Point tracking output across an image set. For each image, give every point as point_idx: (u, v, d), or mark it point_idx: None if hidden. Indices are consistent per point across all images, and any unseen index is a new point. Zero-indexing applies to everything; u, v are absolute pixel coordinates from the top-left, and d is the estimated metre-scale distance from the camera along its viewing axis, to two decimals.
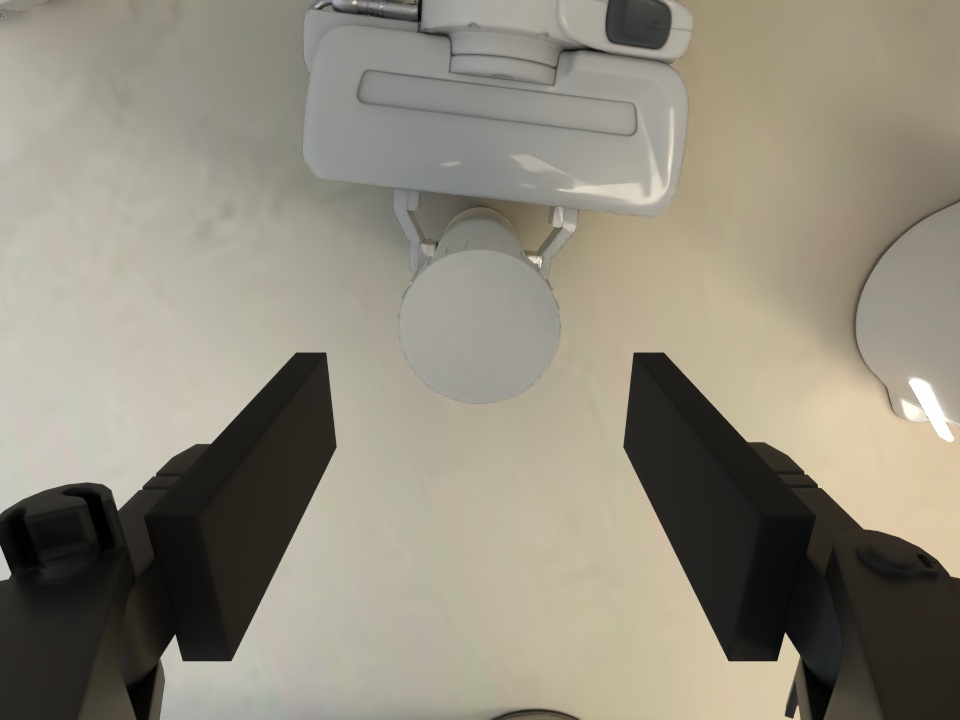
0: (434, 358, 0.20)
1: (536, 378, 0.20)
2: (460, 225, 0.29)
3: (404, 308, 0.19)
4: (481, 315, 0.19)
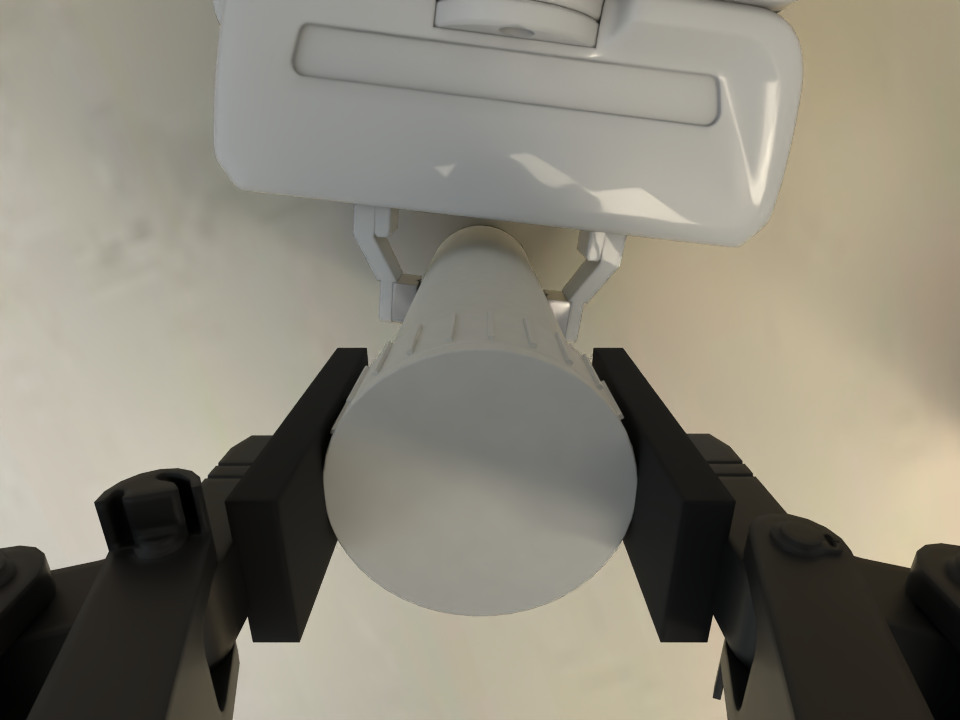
0: (394, 543, 0.10)
1: (587, 576, 0.11)
2: (451, 260, 0.19)
3: (332, 458, 0.10)
4: (484, 470, 0.10)
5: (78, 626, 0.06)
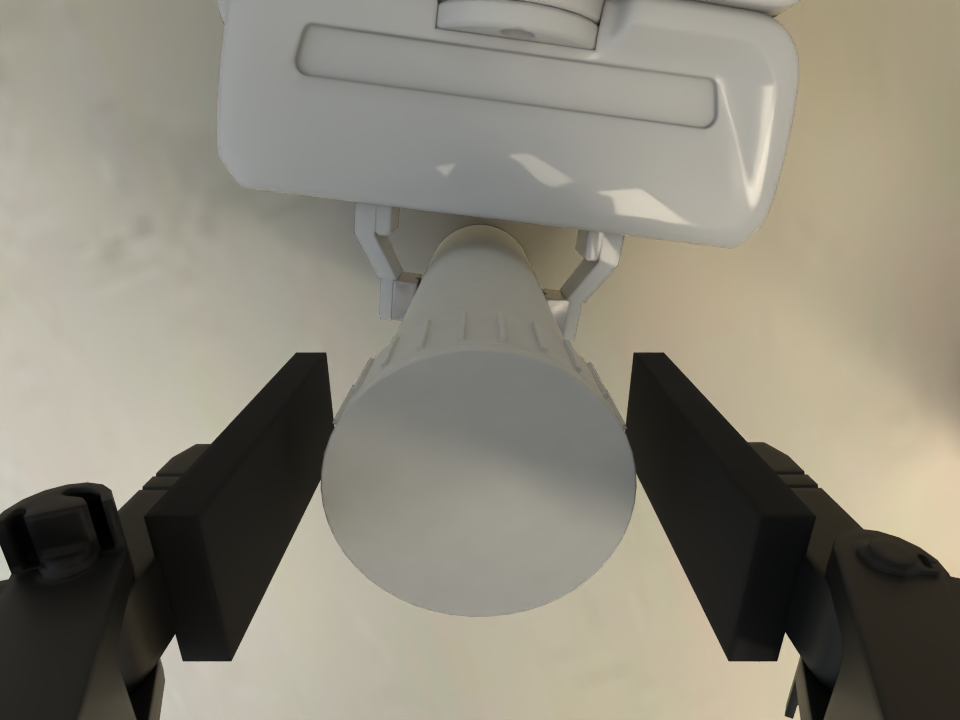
0: (519, 573, 0.11)
1: (602, 407, 0.09)
2: (451, 258, 0.20)
3: (418, 602, 0.11)
4: (447, 490, 0.10)
5: None
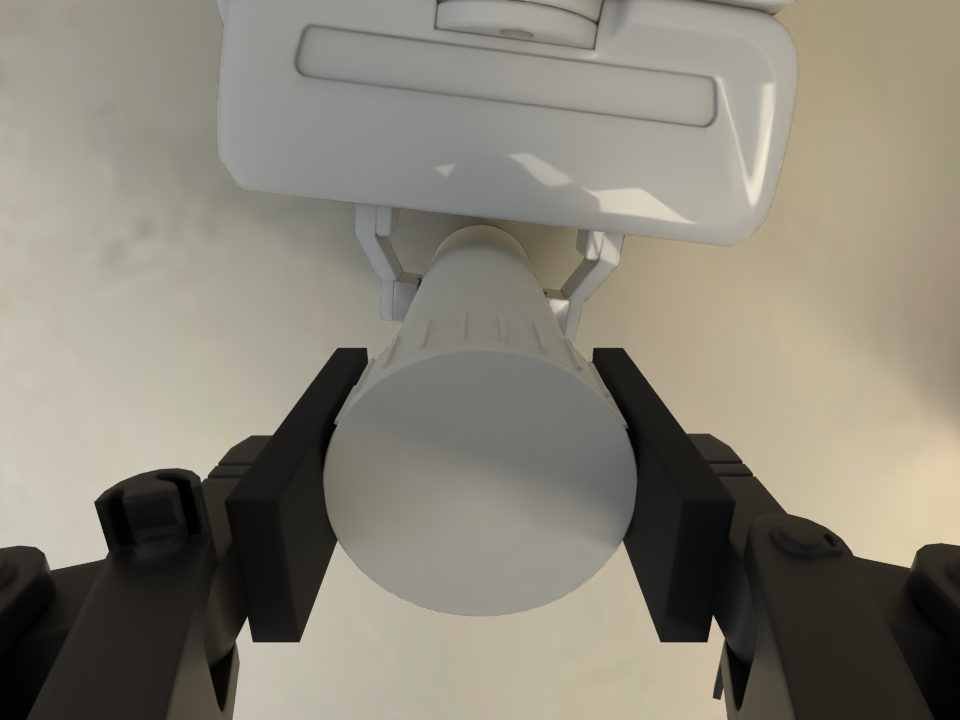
0: (521, 573, 0.11)
1: (603, 406, 0.09)
2: (452, 258, 0.20)
3: (420, 602, 0.11)
4: (449, 490, 0.10)
5: (78, 626, 0.06)
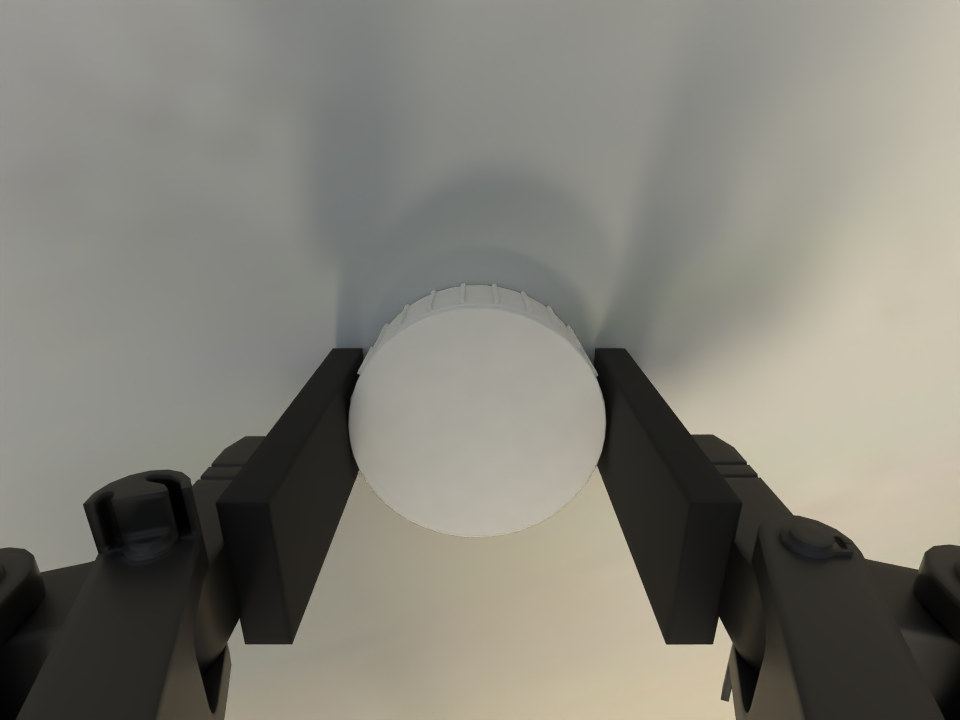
0: (512, 498, 0.13)
1: (577, 355, 0.12)
2: None
3: (428, 525, 0.13)
4: (452, 427, 0.12)
5: (66, 629, 0.06)
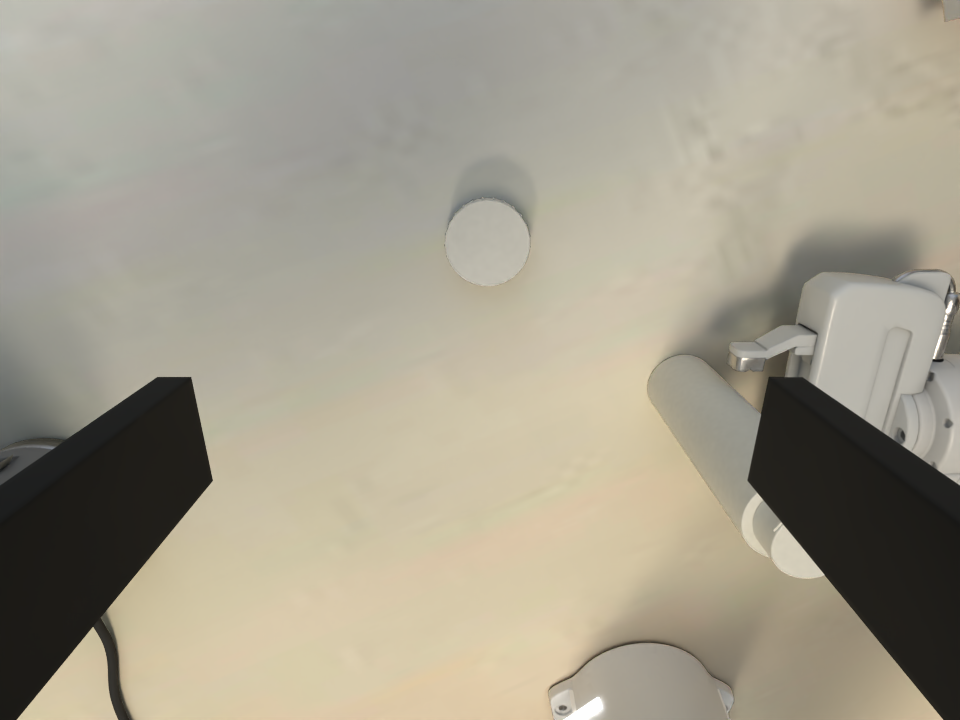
0: (499, 270, 0.38)
1: (519, 216, 0.36)
2: None
3: (470, 280, 0.38)
4: (479, 242, 0.37)
5: None
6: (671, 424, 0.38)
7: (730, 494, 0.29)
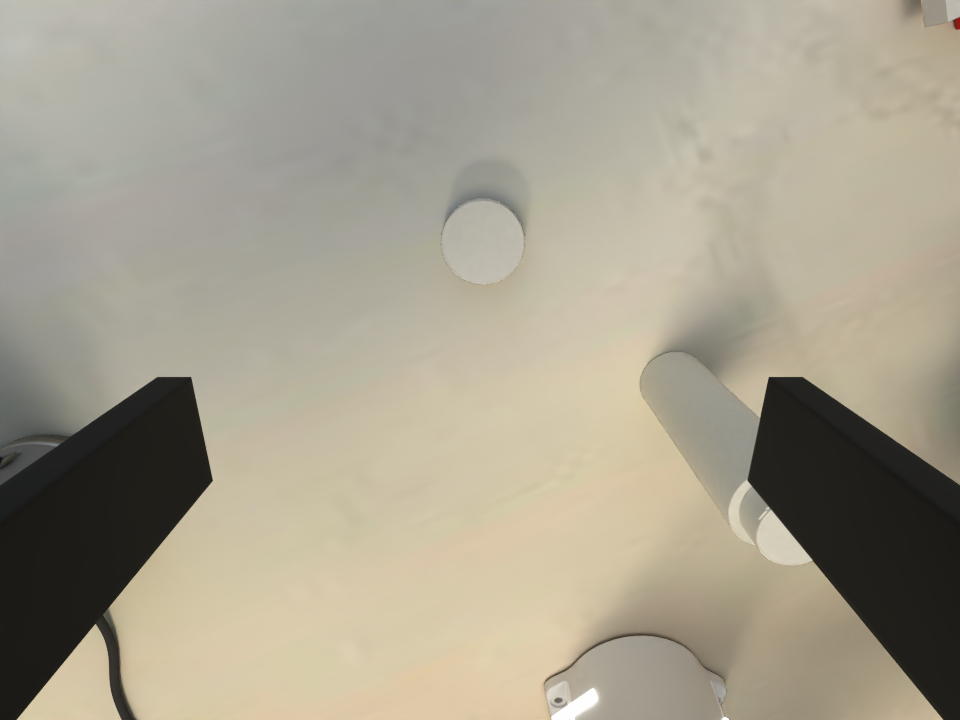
0: (494, 268, 0.39)
1: (513, 216, 0.37)
2: None
3: (466, 279, 0.39)
4: (474, 241, 0.38)
5: None
6: (662, 419, 0.39)
7: (718, 485, 0.30)
